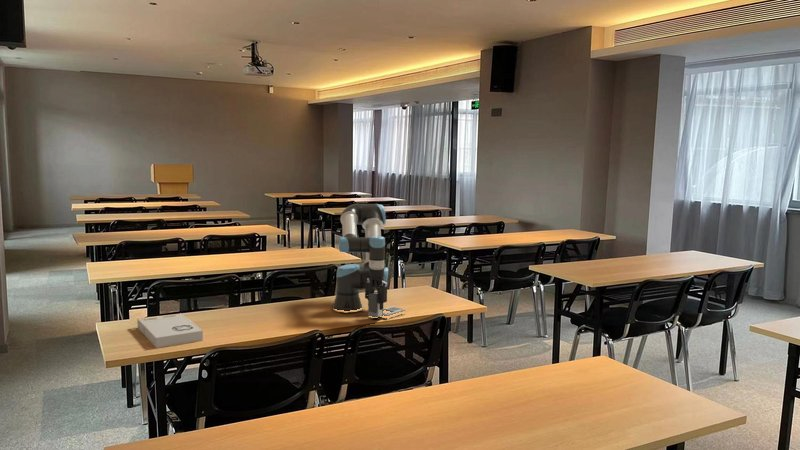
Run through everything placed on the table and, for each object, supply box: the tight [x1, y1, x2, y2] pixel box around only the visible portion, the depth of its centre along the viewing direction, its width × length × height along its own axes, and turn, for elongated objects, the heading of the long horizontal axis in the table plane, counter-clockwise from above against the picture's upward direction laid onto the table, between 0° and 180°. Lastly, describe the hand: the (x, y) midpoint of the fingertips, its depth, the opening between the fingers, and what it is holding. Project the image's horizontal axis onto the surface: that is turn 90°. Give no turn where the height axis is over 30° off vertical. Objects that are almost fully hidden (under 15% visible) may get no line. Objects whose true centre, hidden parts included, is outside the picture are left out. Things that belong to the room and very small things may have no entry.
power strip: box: [383, 305, 406, 316], centre depth 293 cm, size 9×14×3 cm, turn 140°
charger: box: [367, 291, 383, 317], centre depth 284 cm, size 5×5×12 cm
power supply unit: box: [137, 312, 204, 349], centre depth 253 cm, size 19×33×5 cm, turn 36°
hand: (375, 314), depth 285 cm, fingers closed on charger, 5 cm apart
